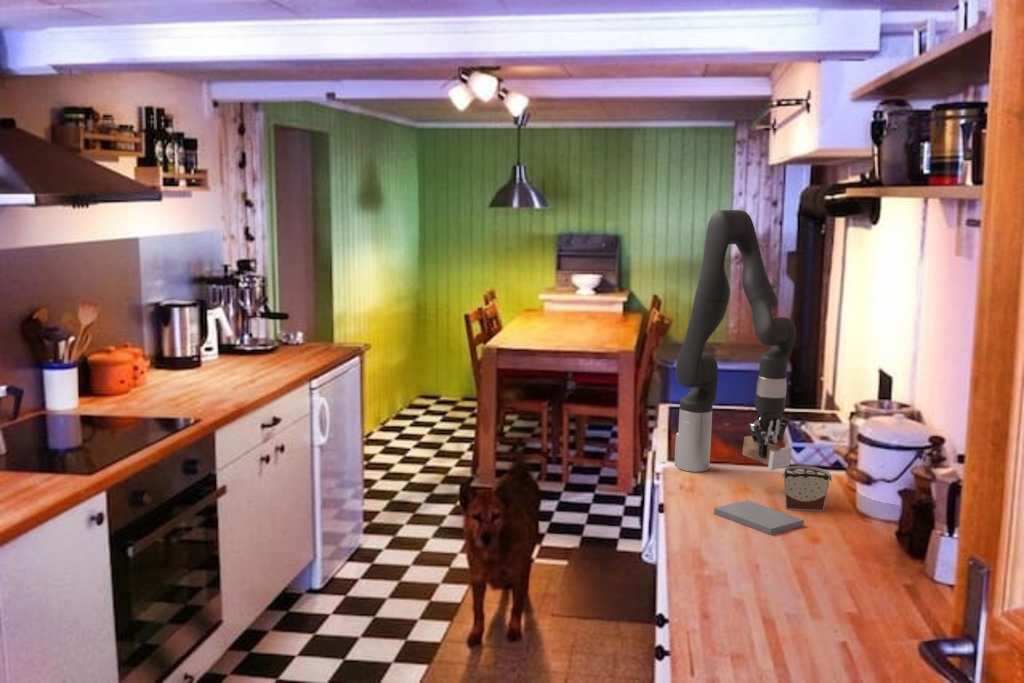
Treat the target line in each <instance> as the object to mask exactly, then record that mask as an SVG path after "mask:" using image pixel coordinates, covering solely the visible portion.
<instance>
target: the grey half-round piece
mask: <svg viewBox="0 0 1024 683" xmlns="http://www.w3.org/2000/svg"><path fill="white" fill-rule="evenodd" d="M783 478H784V498H785V499H784V500H785V502H784V503H785V510H796V511H797V510H798V511H812V512H814V511H815V512H824V511H825V505H826V501H827V495H828V490H829V484H830V482H832V481H833V479H832V474H831V472H830V471H829V470H827V469H823V468H819V467H815V466H808V465H792V466H788V467H784V469H783V471H782V476H781V479H782V480H783Z"/></svg>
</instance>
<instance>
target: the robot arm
mask: <svg viewBox="0 0 1024 683" xmlns="http://www.w3.org/2000/svg"><path fill="white" fill-rule="evenodd" d="M708 220H709V221H708V222H707V228H706V233H705V240H704V241H705V243H704V251H703V256H702V263H701V269H700V273H699V277H698V283H697V286H696V290H695V294H694V298H693V303H692V306H691V307H692V309H691V313H690V318H689V320H688V321H689V322H688V325H687V328H686V333H685V337H684V338H683V342H682V345H681V348H680V351H679V353H678V356H677V360H676V364H675V378H676V381H677V382H678V385H680V386H681V387H684V388H690V391H689V392H688V393H687V394H686V395H684V396H682V397H681V399H680V400H679V414H678V415H679V416H678V432H677V433H676V434H675V442H674V443H675V445H674V461H673V462H674V463H673V464H674V466H676V468H677V469H679V470H682V471H685V472H693V473H694V472H695V473H699V472H700V473H701V472H706V471H709V469H710V460H711V459H710V457H711V444H712V443H711V442H712V441H711V440H712V427H713V426H712V423H713V421H712V420H713V408H714V407H713V406H714V403H715V401H716V398H717V388H718V380H719V366H718V362H717V360H716V358H715V357H714V356H713V355H712V354H710V353H707V352H704V349H705V347H706V344H707V343H708V342H707V341H709V339H710V337H711V336H712V335H713V333H714V332H715V331H716V329H717V328H718V327H719V326H720V324H721V323H722V321H723V320H724V318H725V315H726V312H727V310H728V309H727V308H728V304H729V300H730V296H731V287H730V283H729V280H728V277H727V273H726V270H725V268H726V267H725V260H726V255H727V250H728V247H729V245H735V246H736V247H737V249H738V251H739V252H740V255H741V258H742V276H741V277H742V278H741V283H742V289H743V292H744V296H745V297H746V299H747V301H748V304H749V306H750V308H751V313H752V314H751V315H752V322H753V323H752V324H753V330H754V334H755V337H756V339H757V340H758V341H759V342H760V343H761V344H762V345H764V346H766V347H767V346H768V347H770V349H769V351H767V352H765V353H763V354H762V355H761V356H760V359H759V367H758V368H759V370H758V378H757V382H756V392H755V393H756V396H755V408H754V409H755V410H756V411H757V416H756V418H755V421H754V422H750V423H748V428H749V432H750V434H751V435H750V436H752V438H753V441H754V442H757V443H759V452H758V454H759V457H760V458H763V459H765V458H766V457H767V446H768V445H767V444H768V443H770V444H773V445H776V444H777V443H778V441H782V439H783V436H784V434H785V431H786V429H787V427H788V424H789V419H787V418H785V417H783V413H784V412H785V410H786V398H787V397H786V396H787V384H788V383H787V376H788V375H787V373H788V361H789V359H790V357H791V354H792V352H793V349H794V345H795V342H796V338H797V329H796V325H795V323H794V321H792V319H791V318H789V317H773V313H772V312H773V311H774V310H775V309H777V307H778V305H779V301H778V298H777V295H776V293H775V291H774V289H773V286H772V284H771V281H770V279H769V277H768V275H767V271H766V268H765V265H764V264H765V263H764V262H763V257H762V254H761V249H760V245H759V241H758V237H757V233H756V229H755V225H754V221H753V219H752V217H751V216H750V214H749V213H748V212H746V210H741V209H720V210H716V211H715V212H714V213H712V215H711V216H710V218H709V219H708Z"/></svg>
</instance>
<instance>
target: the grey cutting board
mask: <svg viewBox="0 0 1024 683" xmlns="http://www.w3.org/2000/svg"><path fill="white" fill-rule="evenodd" d="M713 514H714V515H715V516H718V517H721V518H724V519H726V520H730V521H732V522H735V523H738V524H741V525H743V526H745V527H748V528H751V529H753V530H756V531H759V532H762V533H764V534H767V535H770V536H772V535H775V534H778V533H784V532H786V531H790V530H793V529H798V528H801V527H804V526H805V520H804V519H803V518H800V517H797V516H795V515H792V514H789V513H786V512H783V511H780V510H777V509H774V508H771V507H769V506H766V505H762V504H760V503H756V502H754V501H752V500H748V499H746V500H742V501H738V502H734V503H729V504H725V505H721V506H717V507H714V509H713Z"/></svg>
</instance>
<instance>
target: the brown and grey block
mask: <svg viewBox="0 0 1024 683" xmlns="http://www.w3.org/2000/svg"><path fill="white" fill-rule="evenodd" d="M767 445H768V446H767V457H766V458H765V459H763V458H760V457H759V454H758V452H759V443H757V442H754V441H753V438H752V435H747V436H744V438H743V445H742V455H741V456H744V457H747V458H750V459H753V460H755V461H757V462H760V463H762V464H764V465H767V470H770V471H774V470H778V469H783V468H787V467H791V466H790V465H791V464H790V463H791V457H792V449H793V448H792V447H790V446H785V447H781V446H779V445H776V444H775V445H773V444H770V443H768V444H767Z"/></svg>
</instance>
